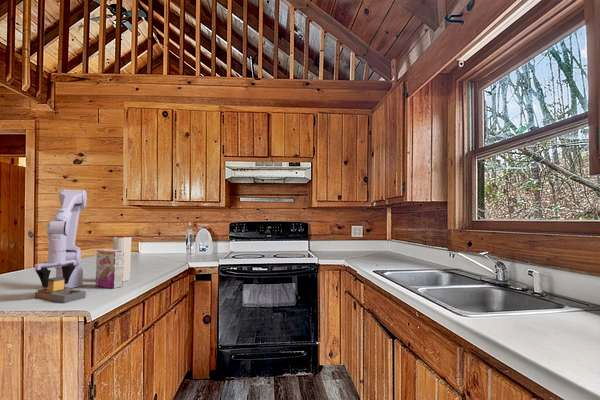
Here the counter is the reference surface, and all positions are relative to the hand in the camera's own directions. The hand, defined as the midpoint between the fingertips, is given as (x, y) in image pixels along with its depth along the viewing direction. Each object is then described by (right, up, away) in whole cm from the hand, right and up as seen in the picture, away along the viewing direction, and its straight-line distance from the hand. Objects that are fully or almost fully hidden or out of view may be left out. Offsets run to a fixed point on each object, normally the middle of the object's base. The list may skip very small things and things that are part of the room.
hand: (55, 285), depth 128 cm
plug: (0, -2, 0) cm, 2 cm away
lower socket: (+8, -4, -4) cm, 10 cm away
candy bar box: (+11, -5, +17) cm, 21 cm away
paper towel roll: (+10, -6, +28) cm, 30 cm away
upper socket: (0, -4, 0) cm, 4 cm away
